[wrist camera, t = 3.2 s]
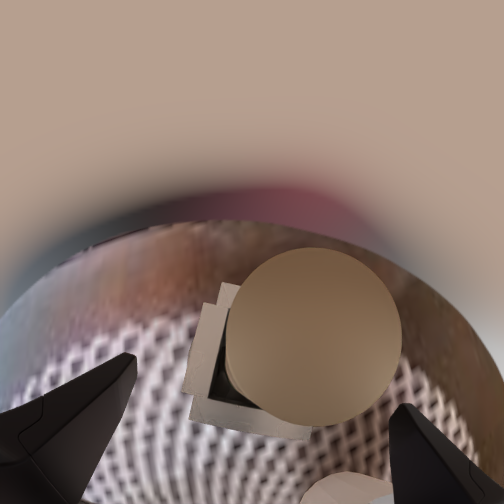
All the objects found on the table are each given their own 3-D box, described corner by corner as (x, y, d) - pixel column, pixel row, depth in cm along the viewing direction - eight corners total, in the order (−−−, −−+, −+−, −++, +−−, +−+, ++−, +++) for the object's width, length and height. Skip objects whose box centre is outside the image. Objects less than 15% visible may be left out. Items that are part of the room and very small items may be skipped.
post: (282, 403, 16) (391, 433, 5) (218, 390, 16) (202, 410, 5) (294, 342, 17) (406, 265, 6) (232, 329, 17) (246, 227, 6)
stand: (304, 437, 16) (333, 455, 11) (176, 413, 16) (158, 425, 11) (325, 319, 19) (358, 296, 14) (206, 294, 19) (200, 261, 15)
